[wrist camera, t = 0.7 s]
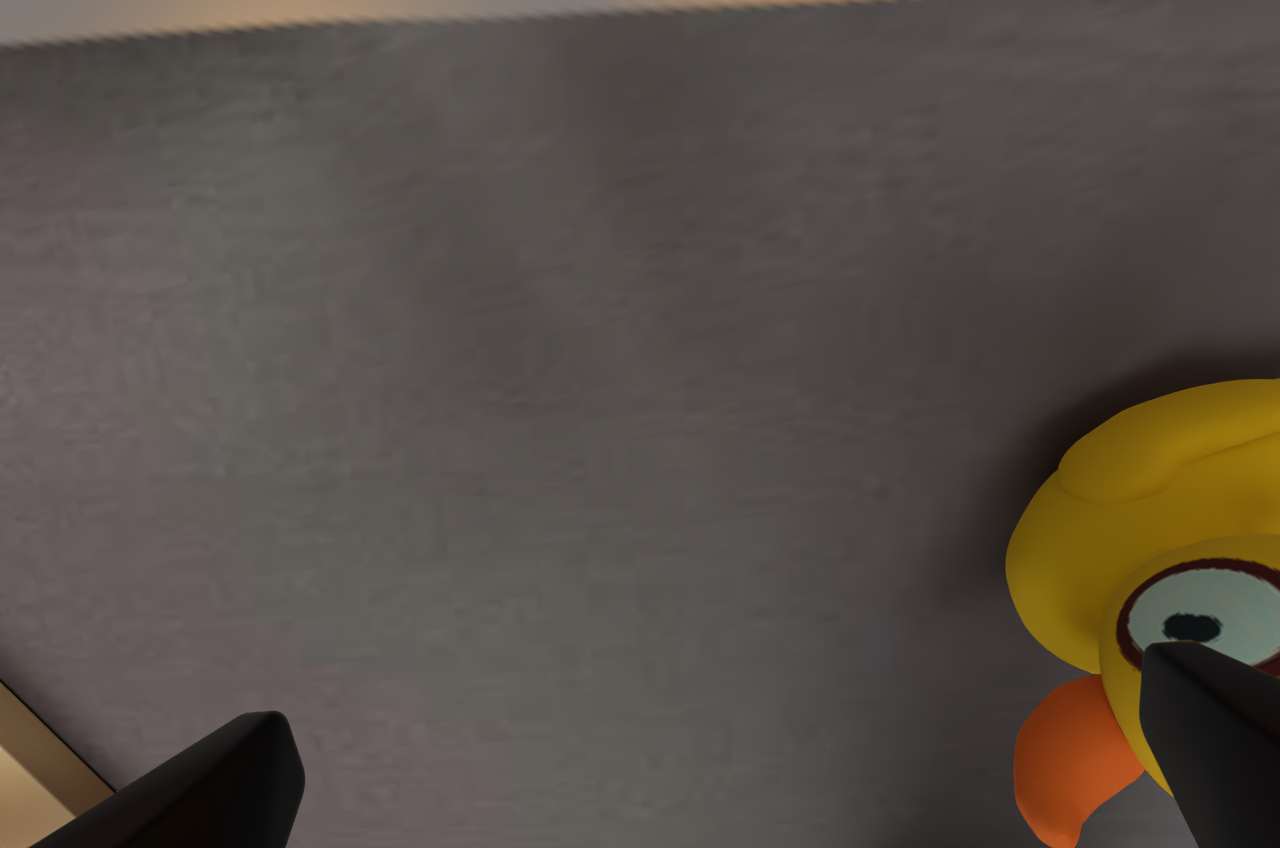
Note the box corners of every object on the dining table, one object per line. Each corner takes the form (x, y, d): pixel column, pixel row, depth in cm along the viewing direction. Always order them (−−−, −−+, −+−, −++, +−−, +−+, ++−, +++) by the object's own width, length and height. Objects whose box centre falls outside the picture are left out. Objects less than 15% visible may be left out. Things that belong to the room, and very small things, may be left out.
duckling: (965, 661, 24) (1136, 1000, 15) (868, 524, 23) (988, 803, 14) (1361, 453, 22) (1878, 711, 12) (1276, 285, 20) (1783, 427, 11)
